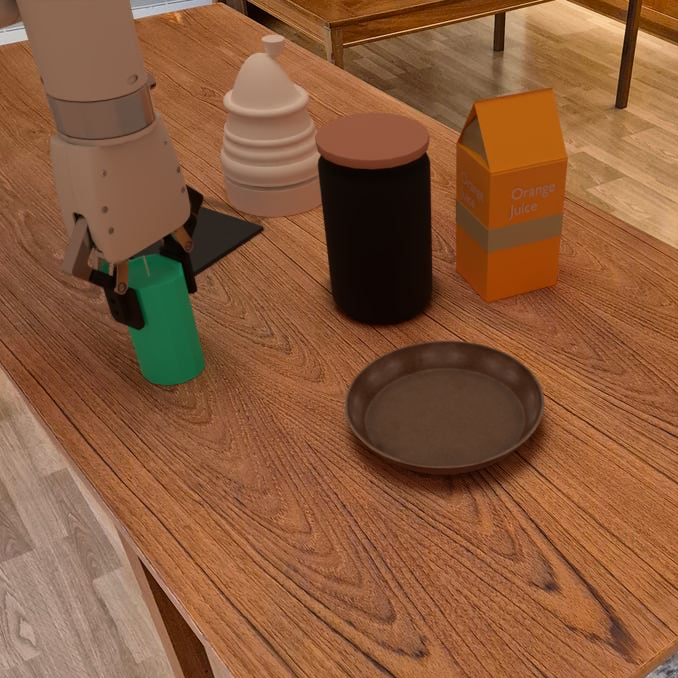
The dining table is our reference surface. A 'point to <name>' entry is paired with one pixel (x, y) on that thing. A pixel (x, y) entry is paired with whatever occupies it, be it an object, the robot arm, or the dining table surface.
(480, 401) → the plant saucer
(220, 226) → the mat
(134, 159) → the robot arm
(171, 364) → the candle
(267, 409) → the dining table surface
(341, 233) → the coffee jar
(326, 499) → the dining table surface
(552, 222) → the orange juice
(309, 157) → the honey pot
